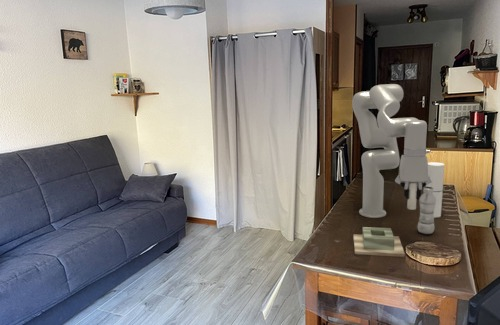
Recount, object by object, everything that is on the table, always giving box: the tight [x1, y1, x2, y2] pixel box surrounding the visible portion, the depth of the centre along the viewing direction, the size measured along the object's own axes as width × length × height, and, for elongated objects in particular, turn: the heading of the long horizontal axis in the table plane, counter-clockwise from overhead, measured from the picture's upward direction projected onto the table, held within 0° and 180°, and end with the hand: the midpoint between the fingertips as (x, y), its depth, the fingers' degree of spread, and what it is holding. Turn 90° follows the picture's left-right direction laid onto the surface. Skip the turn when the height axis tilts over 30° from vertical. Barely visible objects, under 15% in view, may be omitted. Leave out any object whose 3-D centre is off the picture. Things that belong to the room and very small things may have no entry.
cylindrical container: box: [425, 161, 445, 219], centre depth 178 cm, size 7×7×25 cm
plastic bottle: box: [417, 186, 436, 235], centre depth 159 cm, size 6×7×20 cm
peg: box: [406, 182, 418, 211], centre depth 148 cm, size 3×3×12 cm
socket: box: [352, 226, 406, 258], centre depth 151 cm, size 16×18×6 cm
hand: (412, 198), depth 149 cm, fingers closed on peg, 3 cm apart
